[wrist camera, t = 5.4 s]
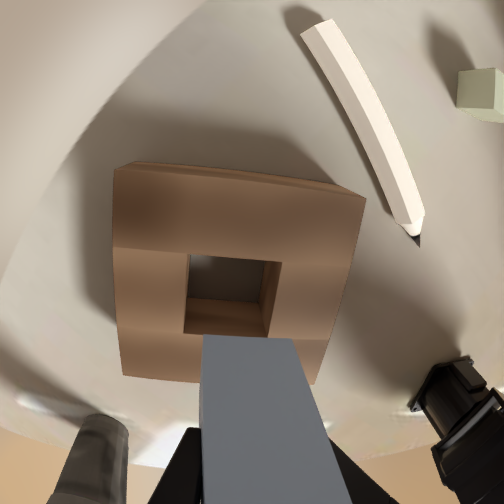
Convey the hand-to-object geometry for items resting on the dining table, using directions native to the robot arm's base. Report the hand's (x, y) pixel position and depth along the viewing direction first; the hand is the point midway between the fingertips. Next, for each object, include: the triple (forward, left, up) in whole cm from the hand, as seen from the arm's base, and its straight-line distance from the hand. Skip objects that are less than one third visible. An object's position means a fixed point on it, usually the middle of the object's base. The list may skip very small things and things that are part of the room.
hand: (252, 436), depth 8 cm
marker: (+9, -8, -13) cm, 18 cm away
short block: (+15, -16, -13) cm, 25 cm away
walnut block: (0, 0, -12) cm, 12 cm away
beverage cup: (-18, +10, -13) cm, 24 cm away
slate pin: (0, 0, -3) cm, 3 cm away
